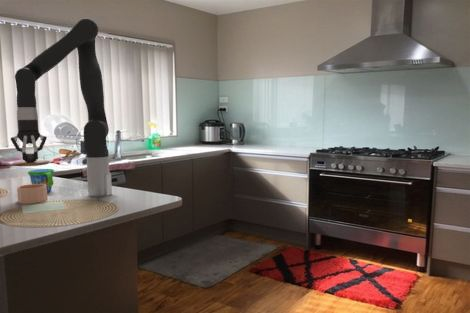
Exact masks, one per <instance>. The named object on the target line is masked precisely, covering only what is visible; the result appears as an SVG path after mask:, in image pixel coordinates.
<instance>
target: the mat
mask: <svg viewBox="0 0 470 313" xmlns="http://www.w3.org/2000/svg"><path fill="white" fill-rule="evenodd" d="M62 210H68V207H67V206H66V204H65V202H64V201H63V200H61V201H54V202H44V203H43V202H41V203H32V204H23V205H21V211H22V214H23V215H25V214H26V215H27V214H36V213H37V214H38V213H44V212H53V211H62Z"/></svg>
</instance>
